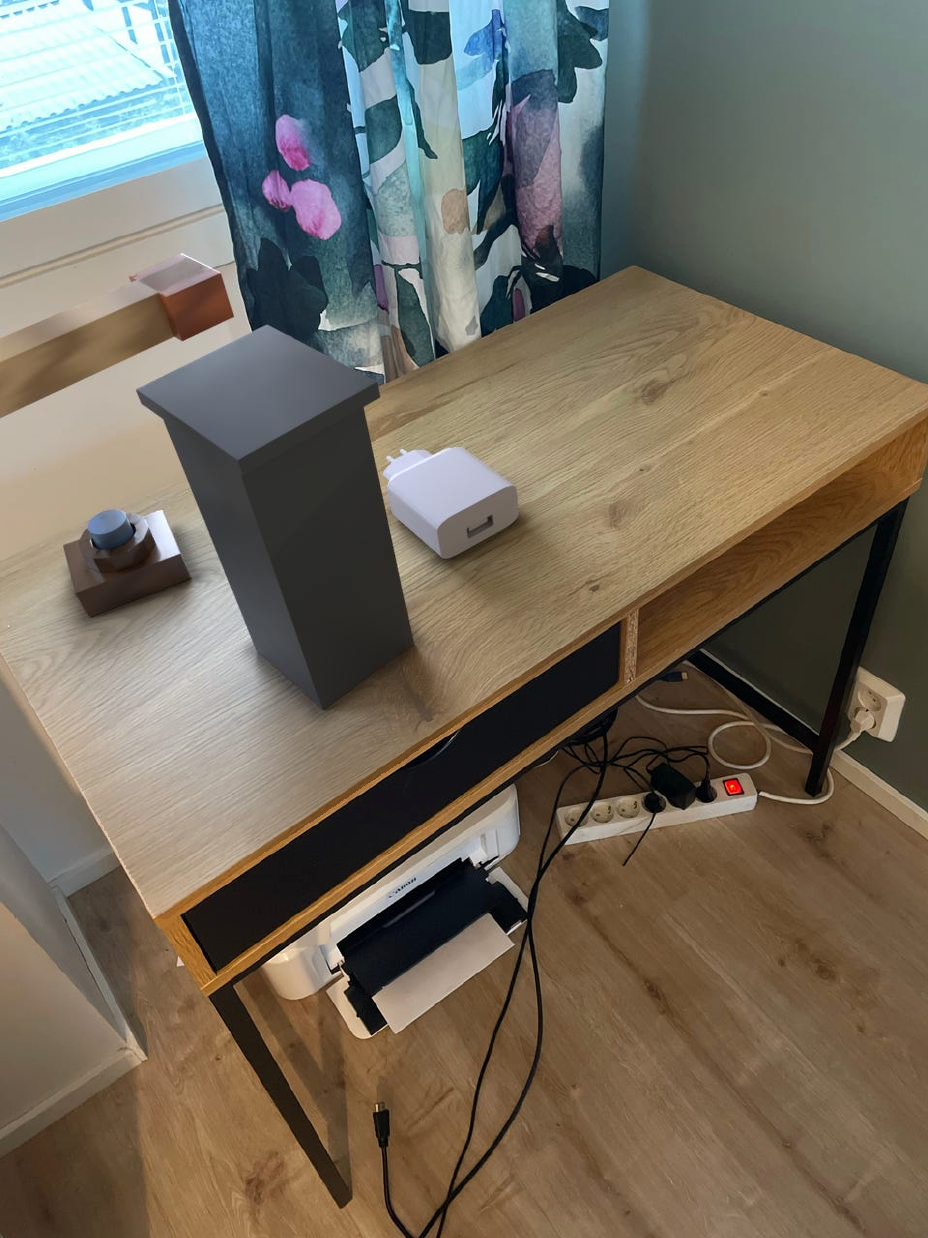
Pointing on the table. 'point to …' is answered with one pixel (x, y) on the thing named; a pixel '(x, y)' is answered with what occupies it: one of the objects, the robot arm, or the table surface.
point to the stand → (291, 504)
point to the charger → (449, 498)
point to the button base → (126, 565)
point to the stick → (110, 329)
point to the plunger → (110, 529)
